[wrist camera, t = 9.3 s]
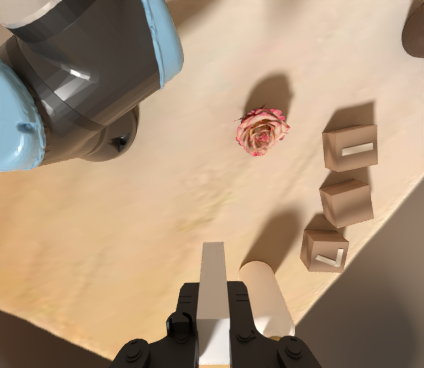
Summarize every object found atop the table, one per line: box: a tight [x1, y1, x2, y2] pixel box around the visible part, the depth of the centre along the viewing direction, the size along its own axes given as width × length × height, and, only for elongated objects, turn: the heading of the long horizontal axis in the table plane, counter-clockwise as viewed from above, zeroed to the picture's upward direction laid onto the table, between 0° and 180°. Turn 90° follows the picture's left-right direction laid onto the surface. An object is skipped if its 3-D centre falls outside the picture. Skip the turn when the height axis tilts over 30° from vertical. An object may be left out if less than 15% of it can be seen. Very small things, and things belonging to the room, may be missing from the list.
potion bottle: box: [238, 261, 295, 341], centre depth 42 cm, size 8×8×18 cm
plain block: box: [319, 179, 374, 228], centre depth 43 cm, size 7×7×5 cm
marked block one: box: [322, 125, 378, 172], centre depth 40 cm, size 7×7×5 cm
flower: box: [235, 104, 290, 156], centre depth 39 cm, size 10×9×8 cm
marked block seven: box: [300, 230, 349, 273], centre depth 46 cm, size 7×7×5 cm
